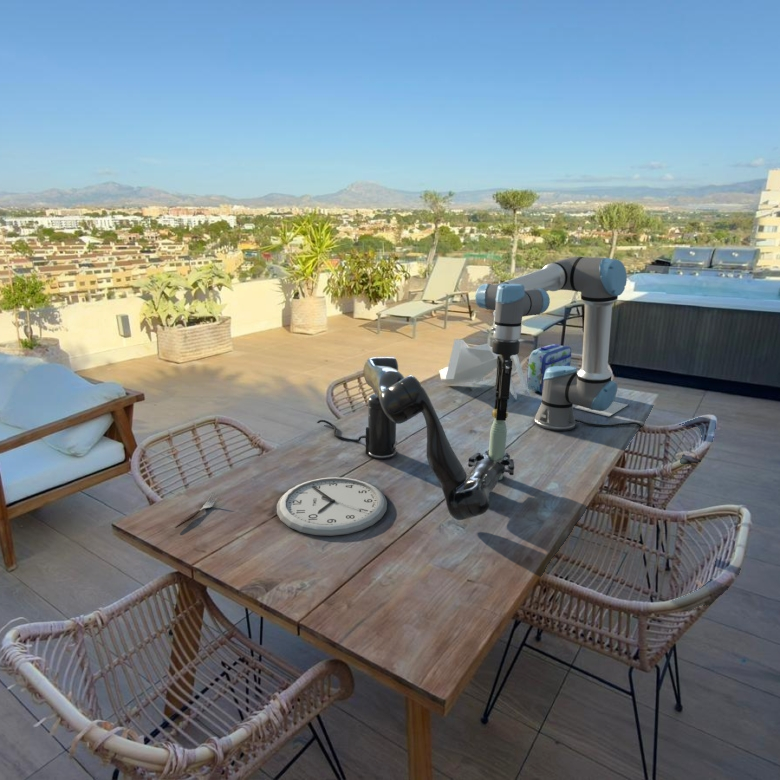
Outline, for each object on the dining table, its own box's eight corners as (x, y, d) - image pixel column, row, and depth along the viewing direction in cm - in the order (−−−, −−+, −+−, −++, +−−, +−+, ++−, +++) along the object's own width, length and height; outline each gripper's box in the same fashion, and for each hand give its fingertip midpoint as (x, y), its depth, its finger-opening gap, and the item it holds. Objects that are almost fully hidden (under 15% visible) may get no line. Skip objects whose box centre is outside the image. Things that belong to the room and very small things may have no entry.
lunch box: (543, 396, 238) (548, 352, 231) (522, 391, 245) (526, 347, 239) (570, 385, 255) (575, 343, 249) (550, 381, 262) (555, 340, 256)
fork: (171, 528, 130) (170, 521, 130) (212, 499, 145) (211, 492, 144) (179, 530, 129) (178, 523, 129) (220, 500, 144) (219, 494, 143)
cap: (500, 420, 152) (501, 414, 152) (489, 416, 155) (489, 410, 155) (510, 417, 155) (510, 411, 154) (498, 413, 158) (499, 407, 157)
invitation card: (608, 416, 214) (573, 407, 224) (608, 416, 214) (573, 408, 224) (628, 404, 229) (594, 396, 238) (628, 405, 229) (594, 397, 238)
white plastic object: (461, 429, 252) (437, 405, 227) (444, 352, 274) (420, 323, 250) (535, 404, 240) (518, 377, 215) (510, 326, 262) (492, 293, 237)
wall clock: (392, 527, 129) (268, 531, 127) (391, 533, 130) (269, 537, 127) (383, 473, 158) (282, 475, 155) (383, 478, 158) (282, 480, 156)
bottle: (503, 480, 158) (509, 416, 152) (487, 479, 159) (492, 415, 153) (501, 473, 163) (507, 411, 157) (486, 472, 163) (491, 410, 157)
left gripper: (511, 469, 143) (522, 447, 157) (460, 459, 148) (476, 438, 163) (508, 494, 145) (520, 469, 160) (459, 483, 150) (474, 460, 165)
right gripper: (490, 332, 157) (484, 406, 164) (496, 345, 140) (489, 427, 147) (515, 333, 156) (508, 407, 163) (524, 346, 139) (516, 428, 146)
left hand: (498, 454), depth 161 cm, fingers closed on bottle, 4 cm apart
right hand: (499, 416), depth 155 cm, fingers open, 5 cm apart
